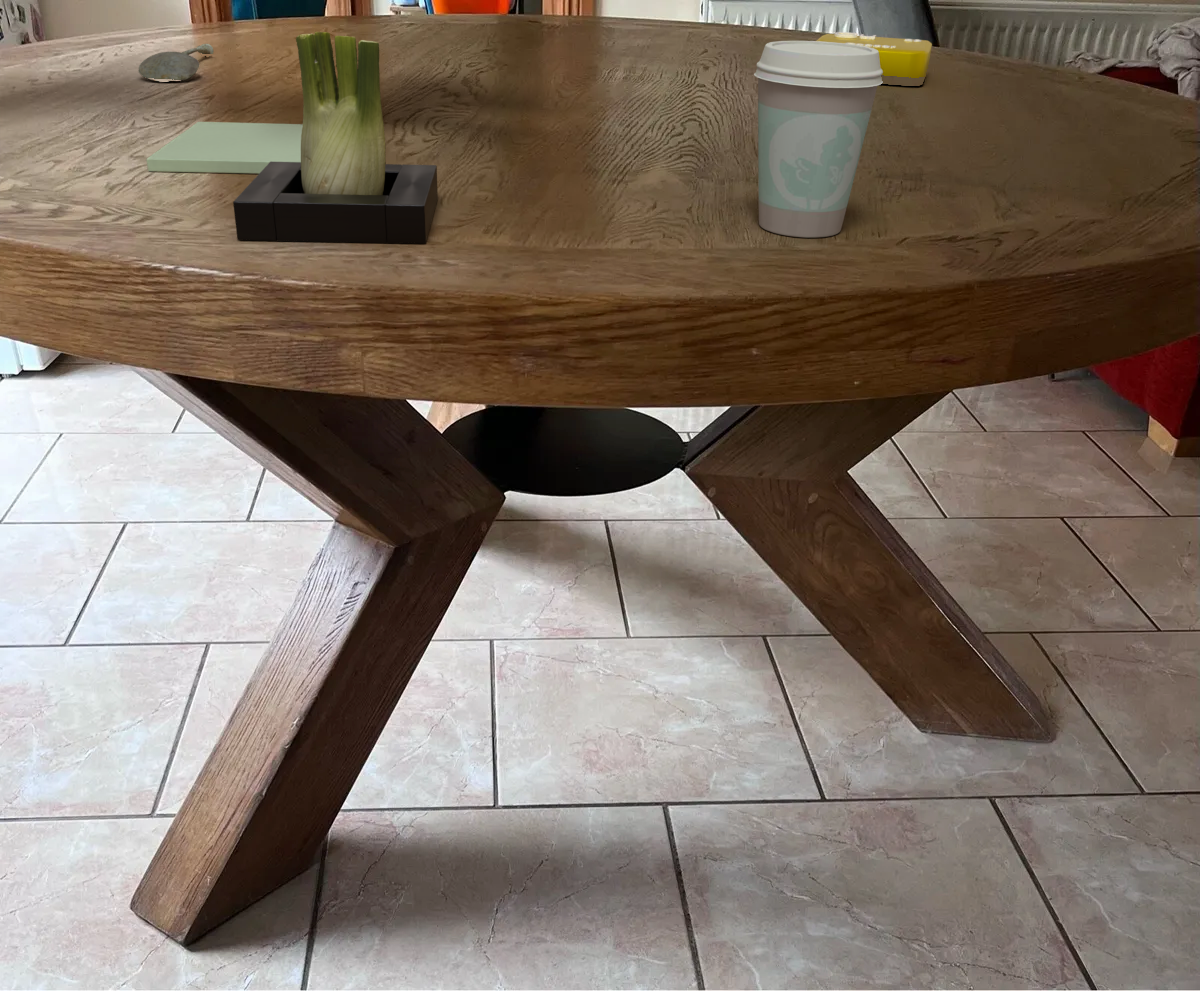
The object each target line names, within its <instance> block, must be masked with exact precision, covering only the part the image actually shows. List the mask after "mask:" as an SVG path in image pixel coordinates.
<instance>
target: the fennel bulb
mask: <svg viewBox="0 0 1200 991" xmlns="http://www.w3.org/2000/svg"><path fill="white" fill-rule="evenodd" d="M295 41H296V46H297V55H298V60H299V61H298V62H299V66H300V67H299V68H300V78H301V79H300V80H301V88H302V98H303V100H302V101H303V102H302V103H303V104H302V105H303V107H302V108H303V110H302V113H303V114H302V124H303V127H302V134H301V178H302V187H303V190H304V193H305V194H342V195H383V190H384V180H385V165H386V164H387V160H386V157H387V156H386V136H385V135H386V134H385V125H384V120H383V107H382V99H381V98H382V97H381V84H380V83H381V82H380V80H381V79H380V78H381V77H380V76H381V73H380V43H379V42H378V41H374V40H373V41H372V40H365V39H361V40H359V42H358V43H357V39H356V36H350V35H335V36H334V48H333V44H332V38H331V33H330V32H328V31H315V32H314V33H312V32H311V33H301V34H298V35H297V36H296V38H295ZM333 49H334V50H333ZM334 52H335V59H334ZM335 63H336V64H335Z"/></svg>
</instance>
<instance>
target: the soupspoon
mask: <svg viewBox="0 0 1200 991" xmlns="http://www.w3.org/2000/svg"><path fill="white" fill-rule="evenodd" d="M194 53H199V54H201V53H202V54H213V55H214V53H215V51H214V47H213V46H212V45H211V44H210V43H202V44H201V45H197V46H196V47H193V48H190V49H187V50H184V51H182V52H180V51H161V52H158V53H155V54H153V55H151V56H149V57H147V58H145V59H144V60H143V61H141V62H140V63H139V67H138V69H137V70H138V73H139V74H140V75H141V76H142V77H143V78H144V77H146V78H154V79H172V80H173V79H174V80H183V81H186V80H188V79H190V78H192V77H193V76H194V75H195V74H196V73H197V72H198V70H199V68H200V62H199V60H198V59H197V58H196V57H193V56H192V54H194ZM146 78H145V79H146Z"/></svg>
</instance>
